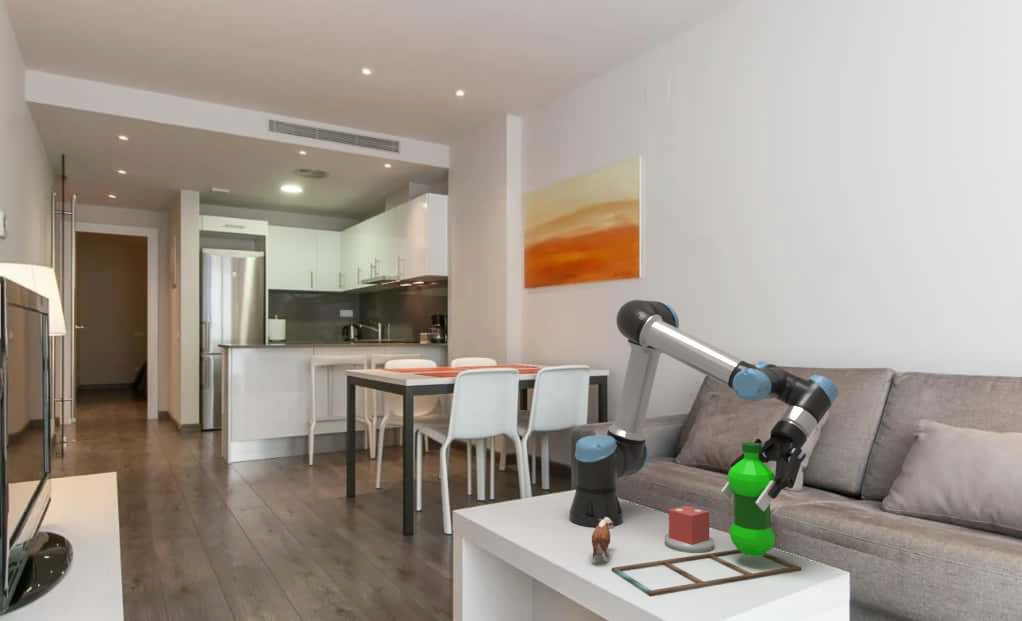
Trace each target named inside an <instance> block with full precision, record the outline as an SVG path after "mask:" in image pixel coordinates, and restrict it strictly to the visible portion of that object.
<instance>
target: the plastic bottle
mask: <svg viewBox="0 0 1022 621" xmlns="http://www.w3.org/2000/svg"><path fill="white" fill-rule="evenodd" d="M741 451H742V452H743V453H744V458H743V459H742V460H741V461H739V462H738V463H737V464H735V465H734V466H733V467H731V468H730V469H729V471H728V473H727V482H729V486H730V487H731V488H732V490H733V491H734V494H733V522H732V525H731V526H730V529H729V536H730V539H731V542H732V544H733V545H734V547H735V548H736V549H739V551H741V553H740V554H743V555H744V556H748V557H749V556H750V557H754V558H755V557H762V556H763V555H764V554H765V553H768V552H770V551H771V549H772V548H774V545H775V543H776V535H775V533H774V531H773V529H772V527H771V503H770V504H769V506H768V507H767V508H766V510H765V511H762V510H761V509H760V508H759V507H758V505H757V504H756V503H755V502H756V501H757V499H758V498H759V496H760V495H761V494H762V492H763V491H764V489H765V488H766V487H767V485H768V484H769V482H770V481H771V480H772V481H774V482H776V481H775V480H774V479H775V473H774V472H773V470H771V469H770V468H769V467H768V466H767V465H766V464H765V462H764V463H763V462H761V461H760V460H759V453H761V444H759V443H754V442H750V441H749V442H747V441H746V442H741ZM773 478H774V479H773ZM763 557H764V556H763Z"/></svg>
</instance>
